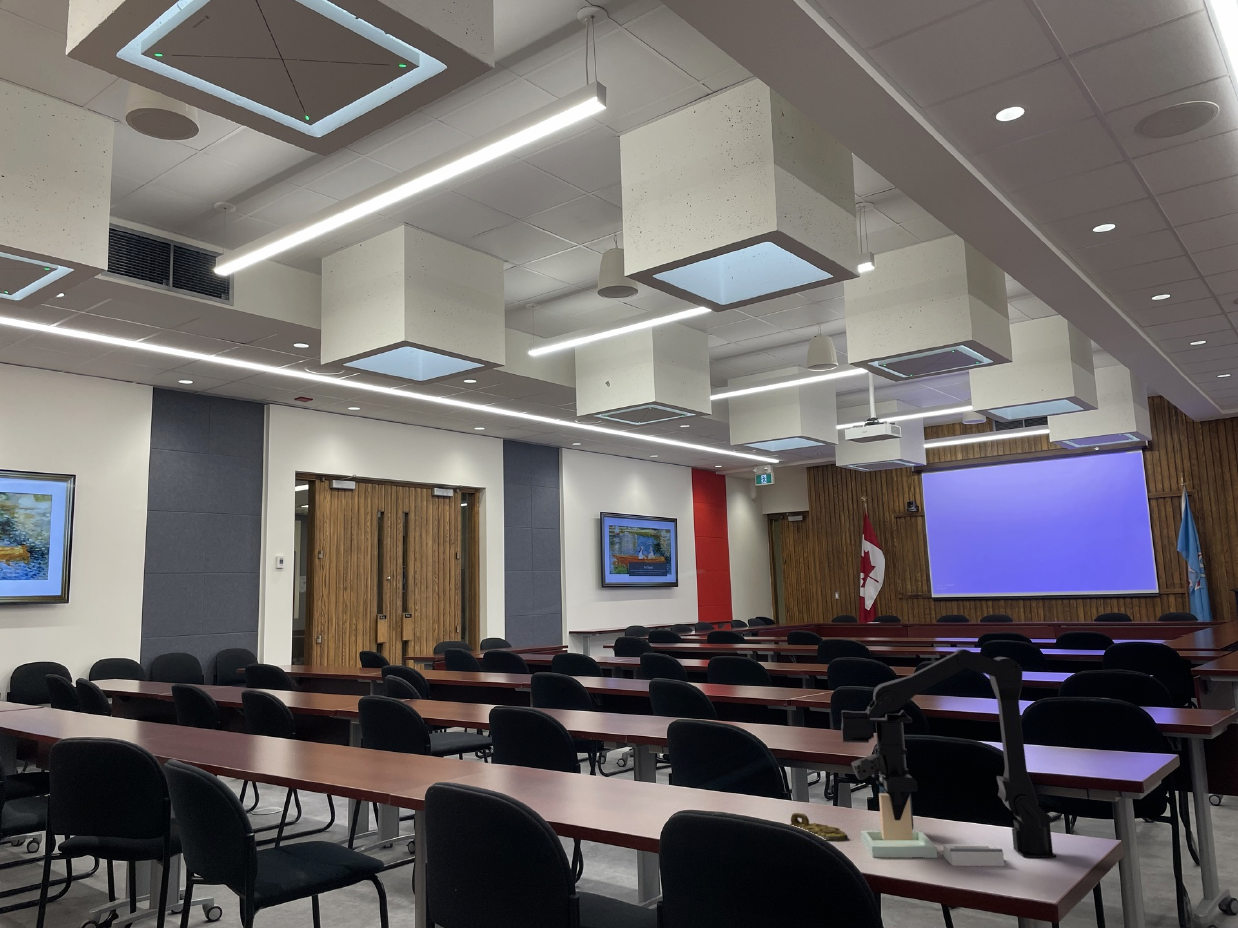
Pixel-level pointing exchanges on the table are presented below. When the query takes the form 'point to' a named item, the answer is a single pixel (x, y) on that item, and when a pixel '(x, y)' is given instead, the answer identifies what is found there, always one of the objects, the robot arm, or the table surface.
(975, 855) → the dispenser
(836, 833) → the seal
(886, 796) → the tan cardboard block
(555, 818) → the table surface
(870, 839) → the tray
